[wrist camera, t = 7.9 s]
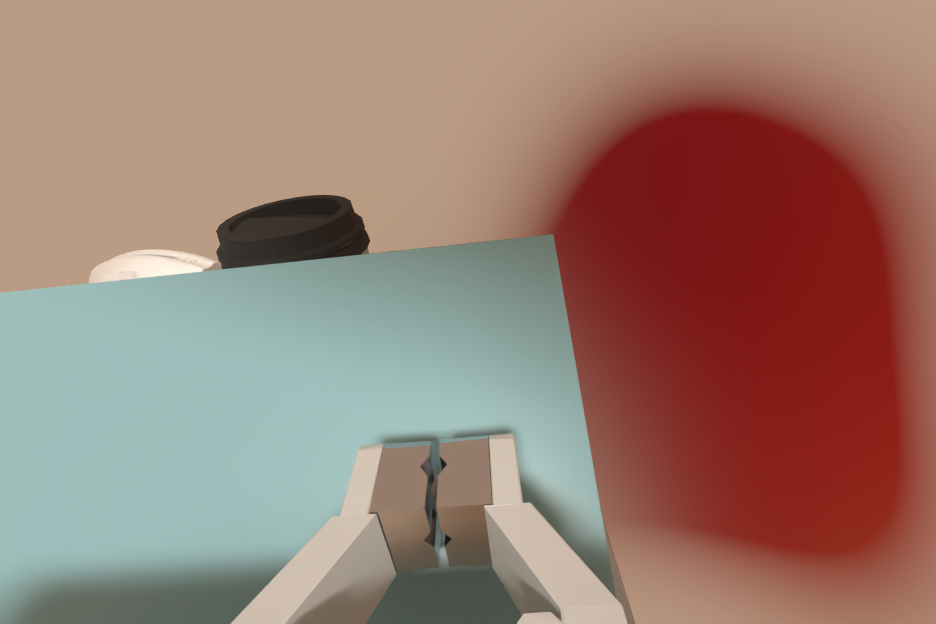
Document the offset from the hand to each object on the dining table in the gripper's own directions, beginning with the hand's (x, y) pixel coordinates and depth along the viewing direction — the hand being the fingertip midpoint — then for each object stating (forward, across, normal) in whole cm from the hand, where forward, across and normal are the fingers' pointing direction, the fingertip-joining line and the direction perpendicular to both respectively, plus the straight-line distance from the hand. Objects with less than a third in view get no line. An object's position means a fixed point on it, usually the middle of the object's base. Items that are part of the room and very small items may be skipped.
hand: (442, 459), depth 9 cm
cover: (0, +5, +2) cm, 5 cm away
